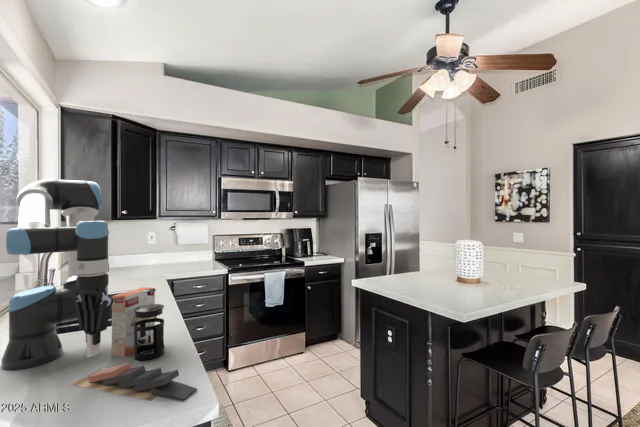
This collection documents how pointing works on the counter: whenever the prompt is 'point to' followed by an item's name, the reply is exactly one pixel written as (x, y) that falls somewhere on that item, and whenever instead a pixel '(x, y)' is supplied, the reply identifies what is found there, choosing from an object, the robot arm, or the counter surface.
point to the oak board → (115, 388)
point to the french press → (149, 341)
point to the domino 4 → (174, 391)
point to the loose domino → (109, 372)
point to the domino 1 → (125, 375)
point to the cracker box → (128, 319)
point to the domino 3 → (158, 380)
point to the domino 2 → (141, 378)
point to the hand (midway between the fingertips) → (93, 354)
